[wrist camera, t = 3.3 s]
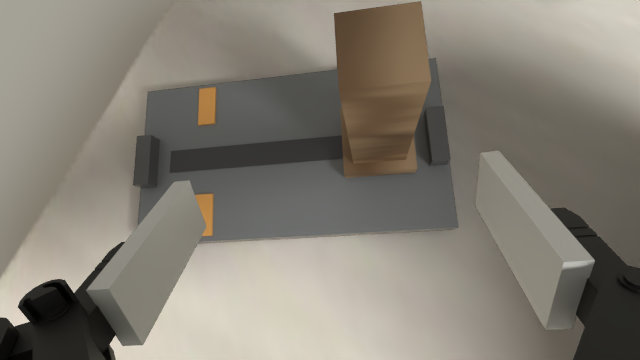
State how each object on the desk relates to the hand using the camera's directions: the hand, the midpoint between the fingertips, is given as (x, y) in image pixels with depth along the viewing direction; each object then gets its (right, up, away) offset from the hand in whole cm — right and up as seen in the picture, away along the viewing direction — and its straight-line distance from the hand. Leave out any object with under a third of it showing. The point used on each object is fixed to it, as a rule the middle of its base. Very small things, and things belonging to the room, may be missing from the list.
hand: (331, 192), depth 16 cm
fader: (+4, +3, +10) cm, 11 cm away
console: (-3, +2, +13) cm, 14 cm away
